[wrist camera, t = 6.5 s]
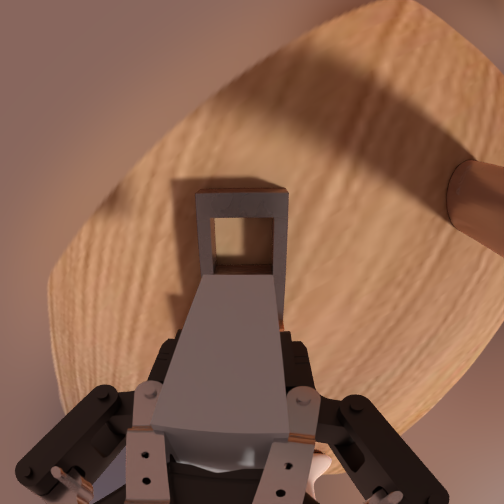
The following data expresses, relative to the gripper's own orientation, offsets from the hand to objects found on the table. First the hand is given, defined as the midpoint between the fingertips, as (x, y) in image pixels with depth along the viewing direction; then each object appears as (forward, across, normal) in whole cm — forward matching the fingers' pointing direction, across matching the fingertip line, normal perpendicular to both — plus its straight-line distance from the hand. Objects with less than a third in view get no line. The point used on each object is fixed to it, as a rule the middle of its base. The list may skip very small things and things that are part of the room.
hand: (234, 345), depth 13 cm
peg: (+4, 0, 0) cm, 4 cm away
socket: (+16, 0, +6) cm, 17 cm away
